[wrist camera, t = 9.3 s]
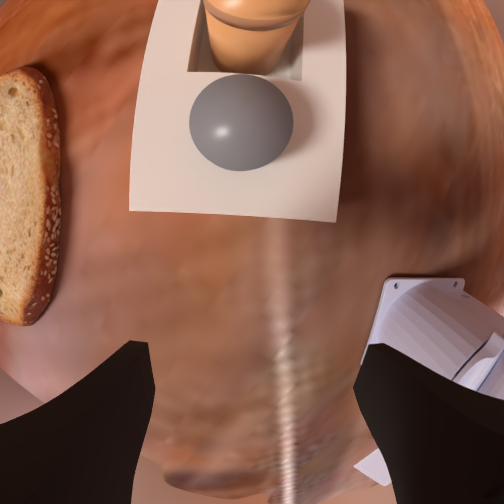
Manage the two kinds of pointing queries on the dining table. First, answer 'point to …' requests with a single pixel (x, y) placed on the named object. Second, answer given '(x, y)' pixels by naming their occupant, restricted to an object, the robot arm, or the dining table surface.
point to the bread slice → (28, 195)
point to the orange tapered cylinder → (251, 32)
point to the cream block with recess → (240, 121)
